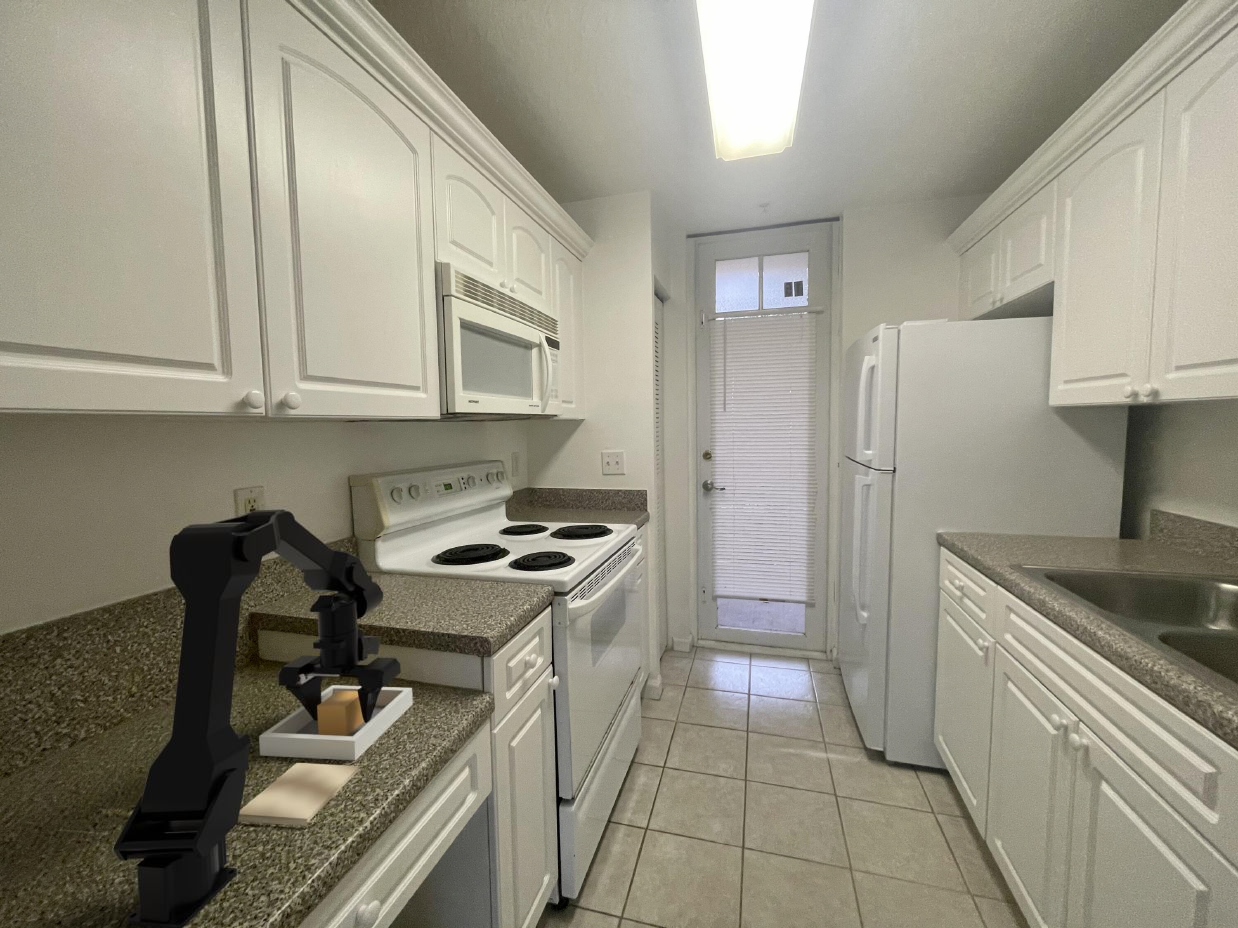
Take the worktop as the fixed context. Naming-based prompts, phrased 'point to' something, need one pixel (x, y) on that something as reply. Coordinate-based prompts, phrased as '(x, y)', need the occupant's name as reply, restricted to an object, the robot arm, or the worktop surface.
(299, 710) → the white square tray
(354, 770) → the pad
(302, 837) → the worktop surface
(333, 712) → the block
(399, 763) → the worktop surface
